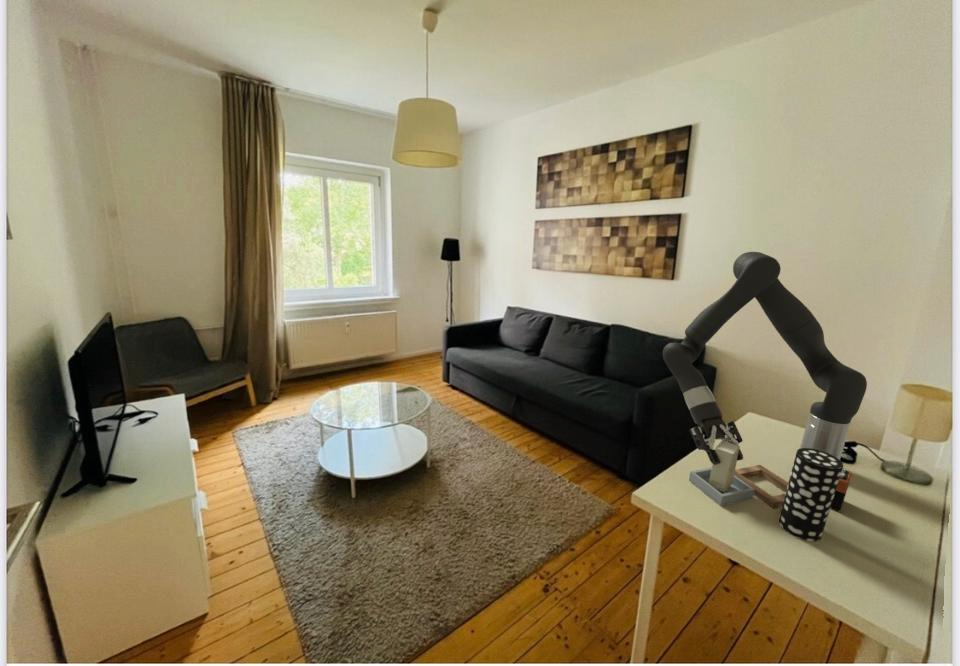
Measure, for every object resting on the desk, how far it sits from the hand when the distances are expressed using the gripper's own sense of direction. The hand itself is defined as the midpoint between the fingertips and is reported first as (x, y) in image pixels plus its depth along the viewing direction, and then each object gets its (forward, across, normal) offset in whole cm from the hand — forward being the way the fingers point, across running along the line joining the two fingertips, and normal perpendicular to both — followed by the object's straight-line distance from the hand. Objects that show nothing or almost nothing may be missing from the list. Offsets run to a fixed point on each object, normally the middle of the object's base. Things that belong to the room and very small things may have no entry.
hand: (728, 461), depth 106 cm
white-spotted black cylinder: (+18, +7, -4) cm, 20 cm away
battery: (+15, +25, -1) cm, 29 cm away
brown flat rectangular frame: (+8, +13, +5) cm, 16 cm away
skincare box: (+5, 0, +7) cm, 8 cm away
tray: (+6, 0, +7) cm, 10 cm away
